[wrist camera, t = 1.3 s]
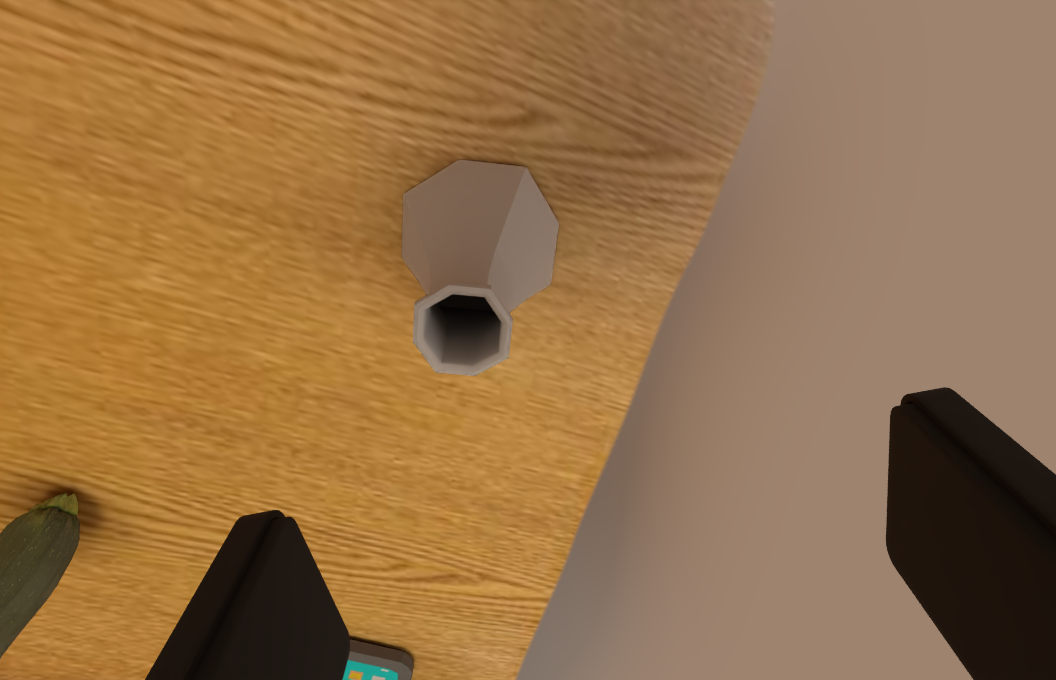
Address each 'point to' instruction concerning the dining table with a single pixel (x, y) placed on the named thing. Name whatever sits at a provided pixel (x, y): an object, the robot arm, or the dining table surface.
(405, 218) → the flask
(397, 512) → the dining table surface
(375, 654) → the smartphone
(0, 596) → the vegetable
